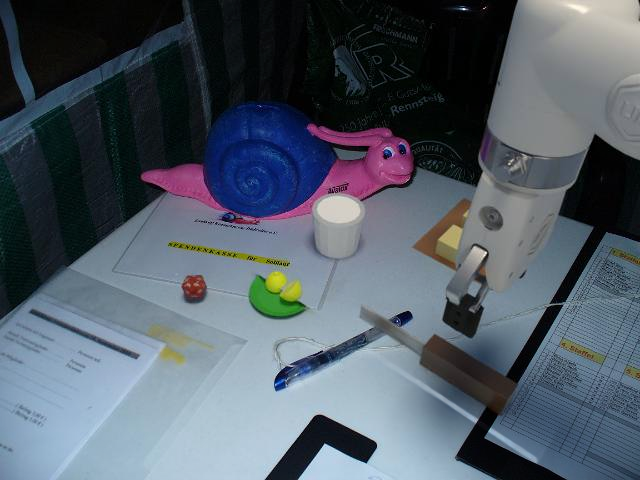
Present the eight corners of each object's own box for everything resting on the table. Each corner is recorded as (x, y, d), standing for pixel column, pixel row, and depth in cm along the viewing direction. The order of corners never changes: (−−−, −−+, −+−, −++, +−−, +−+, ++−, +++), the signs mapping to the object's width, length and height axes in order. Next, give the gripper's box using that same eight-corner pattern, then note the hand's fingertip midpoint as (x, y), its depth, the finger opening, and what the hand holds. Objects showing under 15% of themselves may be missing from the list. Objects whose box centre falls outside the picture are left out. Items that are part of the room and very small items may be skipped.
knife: (509, 405, 63) (518, 384, 61) (498, 420, 62) (507, 399, 59) (366, 315, 72) (368, 293, 69) (353, 327, 71) (355, 304, 68)
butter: (489, 258, 78) (494, 244, 77) (474, 274, 76) (478, 260, 74) (450, 237, 81) (453, 224, 80) (434, 253, 79) (437, 239, 77)
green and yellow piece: (324, 285, 76) (325, 269, 74) (294, 328, 70) (293, 313, 69) (270, 263, 78) (269, 248, 76) (236, 304, 73) (235, 288, 71)
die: (188, 284, 75) (185, 267, 73) (211, 288, 75) (209, 271, 73) (179, 301, 73) (176, 284, 71) (203, 305, 73) (200, 289, 71)
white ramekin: (349, 227, 84) (352, 187, 79) (370, 259, 79) (374, 219, 75) (304, 238, 82) (304, 198, 77) (322, 272, 77) (323, 232, 73)
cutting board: (538, 238, 83) (540, 233, 82) (490, 295, 75) (492, 290, 74) (462, 202, 88) (464, 197, 88) (410, 252, 80) (411, 247, 80)
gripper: (526, 228, 39) (473, 378, 51) (621, 122, 49) (559, 268, 60) (428, 181, 42) (400, 331, 54) (536, 90, 52) (492, 235, 64)
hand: (484, 298), depth 57 cm, fingers open, 9 cm apart
